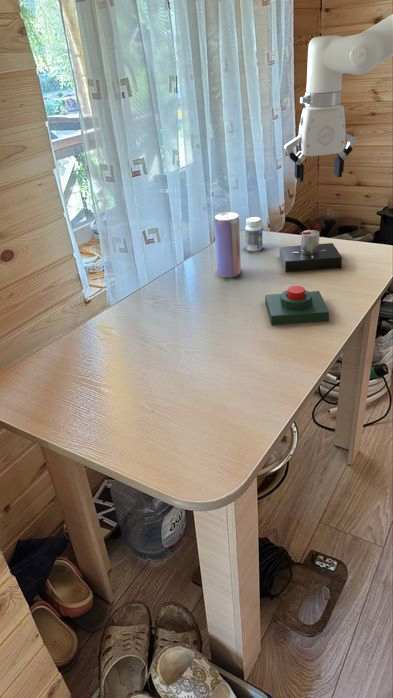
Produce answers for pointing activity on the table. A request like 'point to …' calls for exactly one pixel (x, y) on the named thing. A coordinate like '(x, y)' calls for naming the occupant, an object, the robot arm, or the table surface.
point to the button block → (296, 308)
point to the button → (296, 293)
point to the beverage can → (228, 244)
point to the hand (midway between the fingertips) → (318, 178)
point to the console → (310, 258)
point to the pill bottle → (253, 234)
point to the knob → (310, 242)
